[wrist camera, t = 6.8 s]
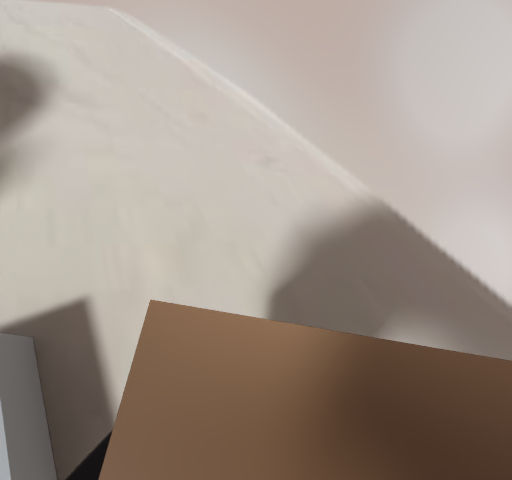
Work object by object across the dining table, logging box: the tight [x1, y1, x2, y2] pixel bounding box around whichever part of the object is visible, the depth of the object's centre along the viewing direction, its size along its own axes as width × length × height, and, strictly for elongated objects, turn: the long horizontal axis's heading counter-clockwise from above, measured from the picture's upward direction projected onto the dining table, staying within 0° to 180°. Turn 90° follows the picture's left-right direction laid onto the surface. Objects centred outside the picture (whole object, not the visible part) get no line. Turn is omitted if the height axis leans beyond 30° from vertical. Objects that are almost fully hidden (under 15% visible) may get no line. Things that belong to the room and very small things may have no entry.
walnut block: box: [99, 300, 512, 480], centre depth 9 cm, size 6×6×12 cm
